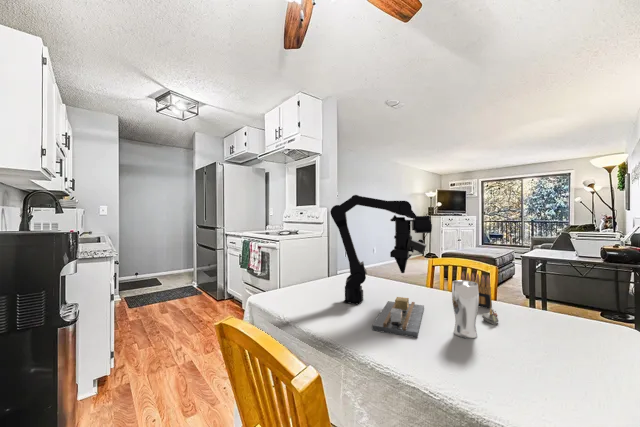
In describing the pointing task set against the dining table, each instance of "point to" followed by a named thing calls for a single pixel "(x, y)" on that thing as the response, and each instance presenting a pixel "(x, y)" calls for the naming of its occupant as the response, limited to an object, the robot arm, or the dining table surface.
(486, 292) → the ammunition clip
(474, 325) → the beer glass
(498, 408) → the dining table surface
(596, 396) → the dining table surface
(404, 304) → the tan wooden block
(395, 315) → the fixed leg
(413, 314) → the bolt plate
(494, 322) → the figurine
